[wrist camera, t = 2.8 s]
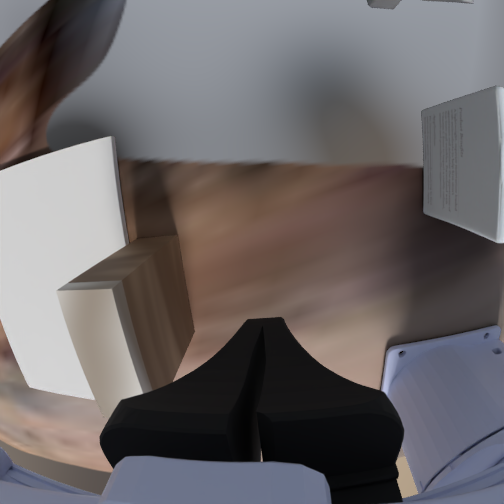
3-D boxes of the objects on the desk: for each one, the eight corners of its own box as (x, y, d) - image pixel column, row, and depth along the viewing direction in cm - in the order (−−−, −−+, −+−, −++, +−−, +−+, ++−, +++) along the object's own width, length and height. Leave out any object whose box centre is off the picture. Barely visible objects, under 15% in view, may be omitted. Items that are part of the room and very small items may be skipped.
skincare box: (496, 215, 16) (576, 245, 9) (419, 213, 16) (497, 247, 9) (496, 121, 14) (578, 115, 7) (418, 106, 15) (497, 82, 8)
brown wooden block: (178, 234, 17) (111, 289, 10) (194, 331, 19) (154, 423, 11) (137, 238, 18) (56, 290, 10) (156, 332, 19) (103, 417, 11)
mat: (115, 136, 16) (110, 135, 16) (169, 403, 21) (167, 407, 20) (-26, 182, 17) (-30, 183, 17) (31, 384, 22) (29, 387, 21)
